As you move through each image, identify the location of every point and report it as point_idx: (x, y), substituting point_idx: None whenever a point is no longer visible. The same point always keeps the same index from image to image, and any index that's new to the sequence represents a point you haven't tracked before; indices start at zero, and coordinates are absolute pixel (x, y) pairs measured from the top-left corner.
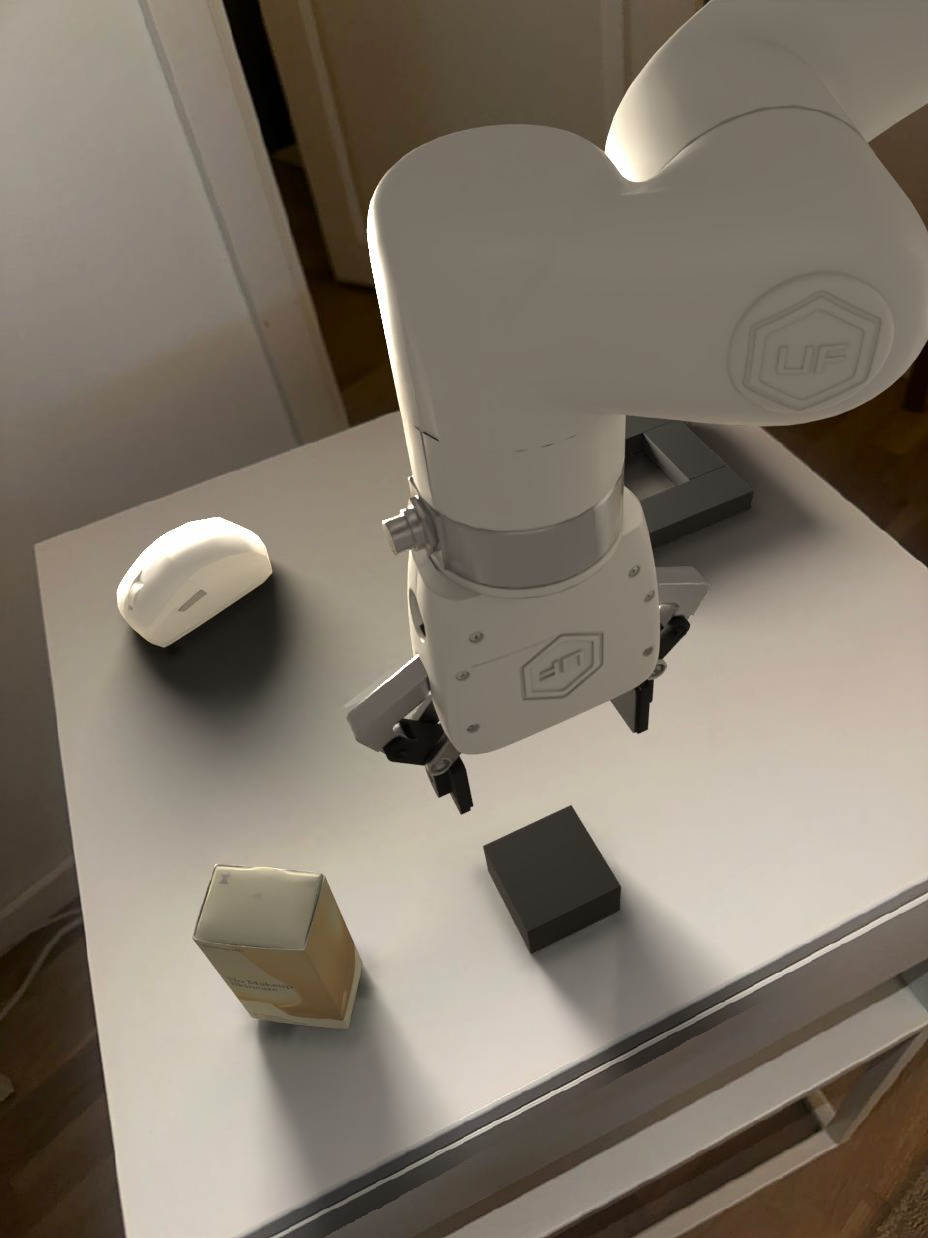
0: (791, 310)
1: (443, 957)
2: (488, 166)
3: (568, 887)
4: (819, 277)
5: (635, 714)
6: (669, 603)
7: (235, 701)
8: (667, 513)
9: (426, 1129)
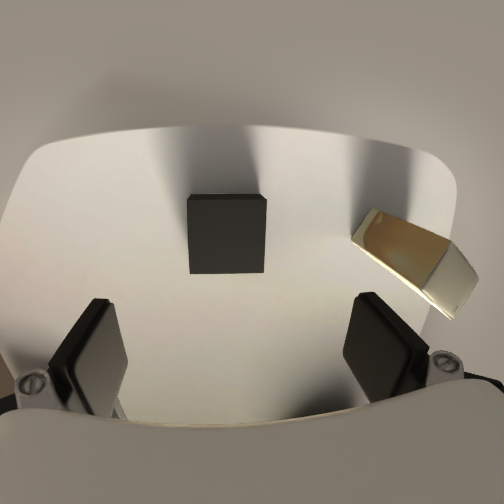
0: None
1: (309, 219)
2: None
3: (222, 216)
4: None
5: (95, 327)
6: None
7: (330, 396)
8: None
9: (358, 137)
